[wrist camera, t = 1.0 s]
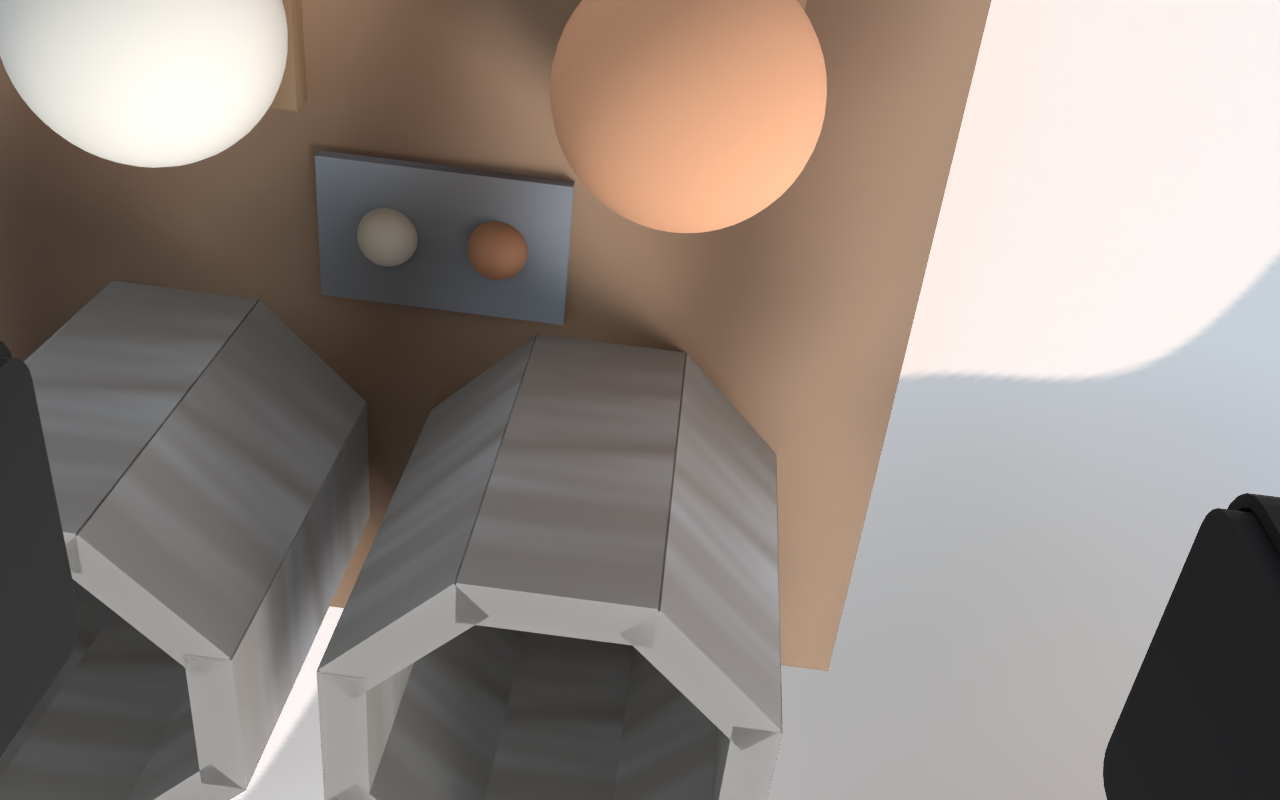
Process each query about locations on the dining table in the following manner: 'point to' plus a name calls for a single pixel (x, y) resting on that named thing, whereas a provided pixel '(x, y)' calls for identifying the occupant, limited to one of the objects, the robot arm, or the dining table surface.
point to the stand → (461, 419)
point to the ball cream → (146, 72)
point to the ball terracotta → (688, 106)
